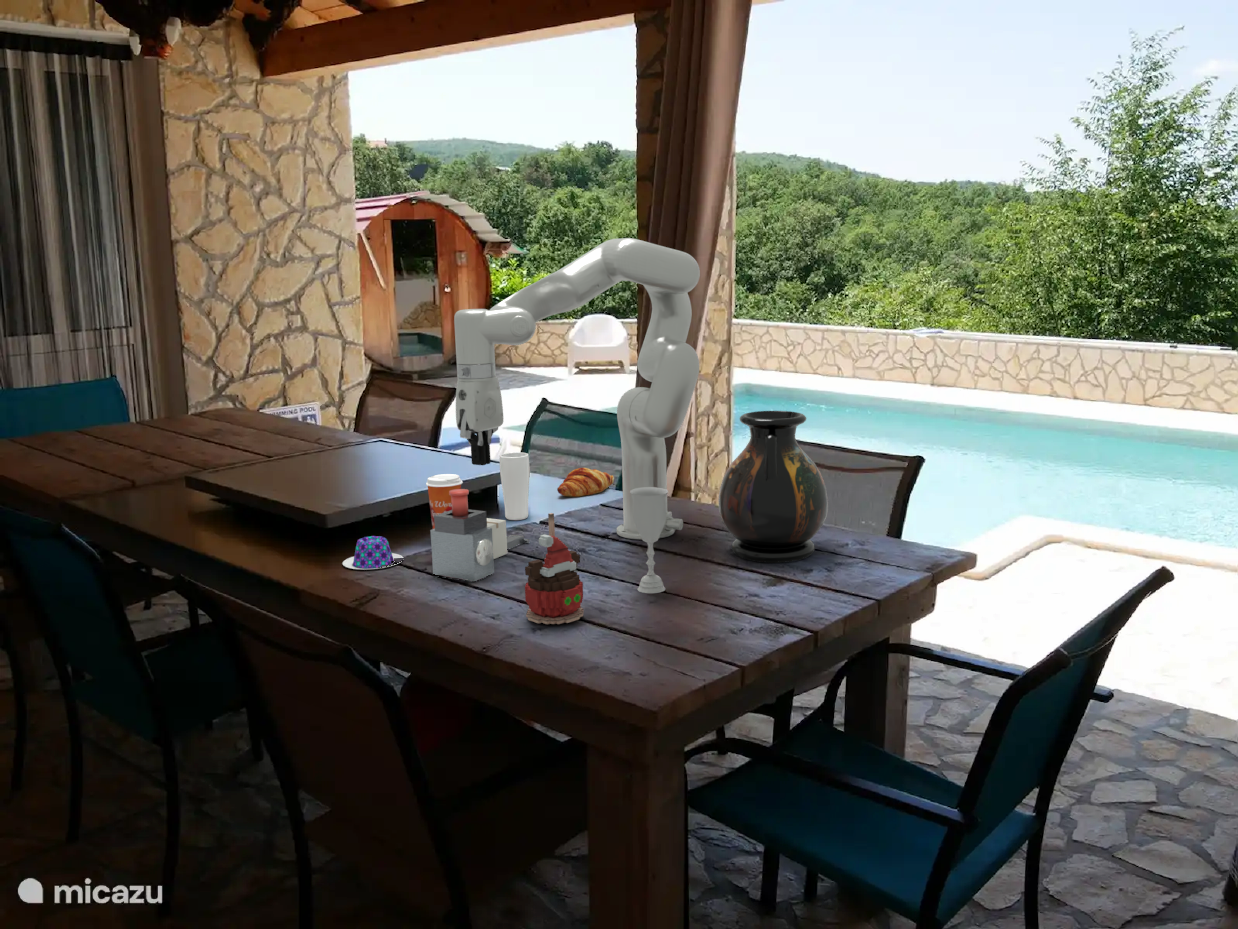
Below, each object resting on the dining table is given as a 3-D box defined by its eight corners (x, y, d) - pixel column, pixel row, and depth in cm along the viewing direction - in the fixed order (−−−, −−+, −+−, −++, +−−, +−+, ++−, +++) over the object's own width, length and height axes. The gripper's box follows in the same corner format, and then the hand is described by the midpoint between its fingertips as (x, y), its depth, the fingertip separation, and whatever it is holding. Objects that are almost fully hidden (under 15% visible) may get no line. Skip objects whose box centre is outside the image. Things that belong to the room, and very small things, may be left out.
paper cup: (422, 544, 230) (418, 479, 227) (440, 535, 237) (436, 472, 234) (455, 546, 227) (451, 481, 224) (472, 537, 234) (468, 474, 231)
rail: (529, 543, 228) (529, 535, 228) (483, 562, 214) (483, 554, 214) (510, 540, 230) (510, 533, 230) (463, 559, 217) (463, 552, 216)
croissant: (604, 496, 287) (593, 468, 288) (630, 482, 281) (619, 454, 282) (552, 510, 271) (540, 481, 272) (579, 495, 265) (566, 466, 266)
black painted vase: (828, 570, 203) (829, 423, 197) (713, 567, 207) (712, 423, 201) (827, 540, 224) (828, 406, 218) (723, 538, 227) (722, 407, 222)
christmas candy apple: (561, 605, 187) (557, 503, 183) (597, 617, 180) (594, 512, 177) (512, 620, 180) (507, 515, 176) (548, 633, 173) (543, 524, 169)
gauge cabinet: (497, 573, 207) (494, 512, 204) (475, 583, 201) (471, 520, 198) (454, 566, 212) (450, 507, 210) (431, 576, 206) (427, 515, 204)
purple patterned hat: (334, 562, 218) (332, 537, 217) (390, 553, 224) (389, 528, 224) (354, 576, 208) (352, 550, 207) (413, 565, 215) (411, 540, 214)
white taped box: (507, 553, 220) (506, 519, 219) (490, 560, 215) (488, 526, 213) (481, 549, 223) (480, 516, 222) (464, 557, 218) (462, 523, 217)
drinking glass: (526, 522, 246) (524, 457, 244) (498, 521, 248) (495, 457, 245) (535, 515, 253) (532, 452, 250) (507, 514, 254) (504, 452, 252)
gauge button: (473, 513, 205) (472, 489, 204) (462, 517, 202) (460, 493, 201) (458, 511, 207) (457, 488, 206) (446, 515, 203) (445, 492, 203)
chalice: (676, 592, 192) (674, 493, 188) (639, 597, 190) (637, 497, 186) (662, 581, 199) (660, 485, 195) (627, 585, 197) (624, 489, 193)
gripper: (467, 377, 204) (473, 472, 207) (514, 368, 217) (518, 458, 220) (436, 375, 207) (442, 469, 211) (484, 368, 220) (488, 456, 224)
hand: (481, 463), depth 215 cm, fingers closed
